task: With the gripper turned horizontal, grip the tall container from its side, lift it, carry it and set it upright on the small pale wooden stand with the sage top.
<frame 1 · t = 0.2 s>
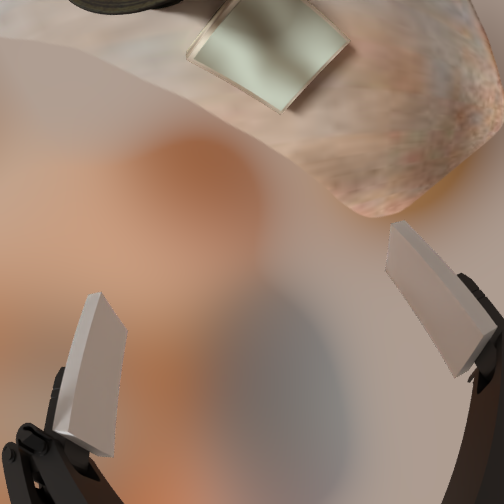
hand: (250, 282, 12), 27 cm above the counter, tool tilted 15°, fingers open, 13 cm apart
stand: (262, 37, 26), on the counter
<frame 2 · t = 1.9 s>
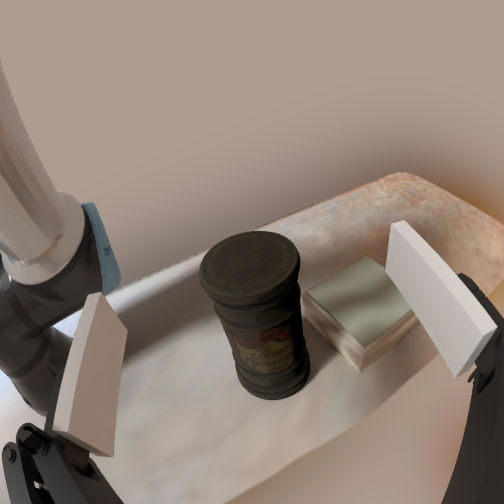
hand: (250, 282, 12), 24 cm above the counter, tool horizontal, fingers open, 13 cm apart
container: (274, 370, 34), on the counter
stand: (363, 319, 38), on the counter
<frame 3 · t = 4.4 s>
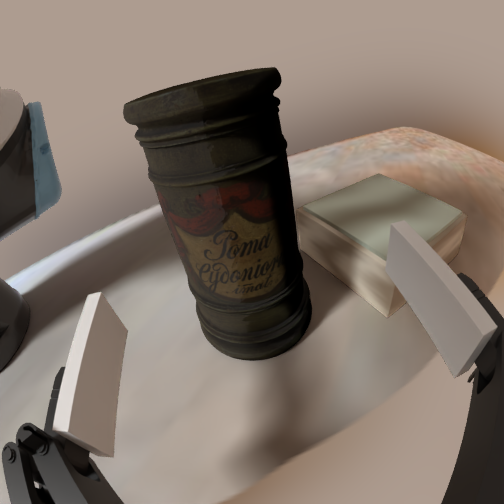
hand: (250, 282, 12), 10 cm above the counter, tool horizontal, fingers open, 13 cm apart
container: (256, 318, 24), on the counter
stand: (382, 251, 27), on the counter
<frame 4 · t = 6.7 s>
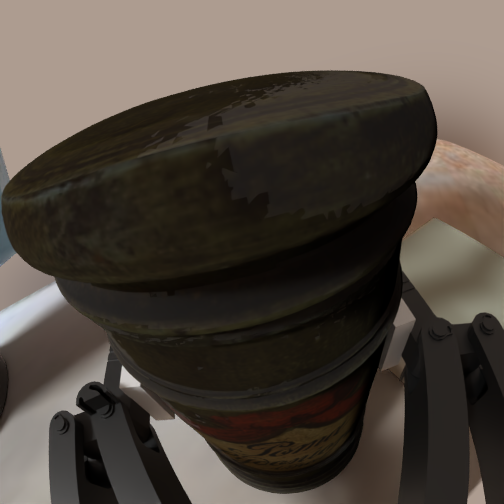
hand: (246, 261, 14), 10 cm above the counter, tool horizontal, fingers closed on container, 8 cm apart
container: (287, 431, 16), on the counter, touching gripper
stand: (440, 325, 19), on the counter
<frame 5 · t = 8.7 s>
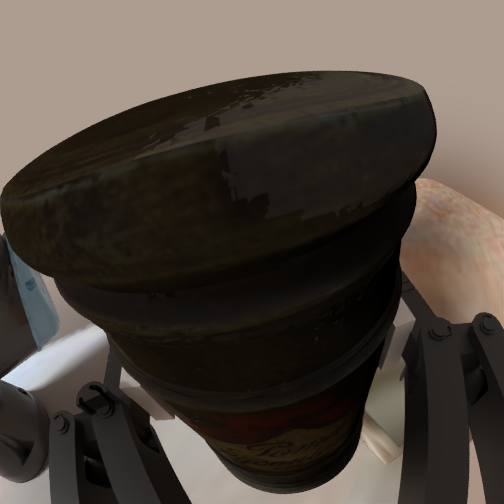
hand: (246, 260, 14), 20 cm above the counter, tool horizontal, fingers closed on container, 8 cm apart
container: (287, 431, 16), point 10 cm above the counter, touching gripper
stand: (392, 389, 25), on the counter
when the fingers open (16 cm above the counter, at t = 10.7 s): container drops 1 cm, resting on stand.
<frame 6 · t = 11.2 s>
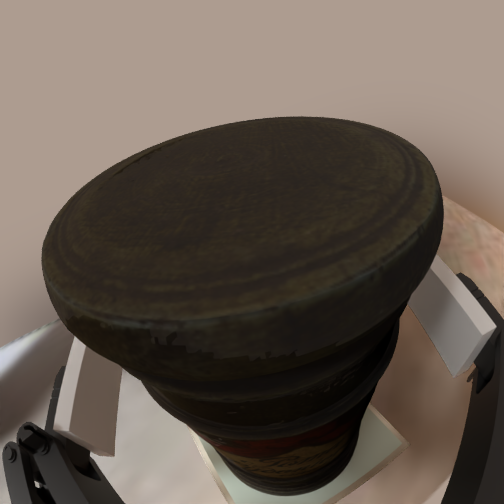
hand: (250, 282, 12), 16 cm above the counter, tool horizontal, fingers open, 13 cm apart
container: (288, 437, 16), point 5 cm above the counter, touching stand
stand: (293, 450, 19), on the counter
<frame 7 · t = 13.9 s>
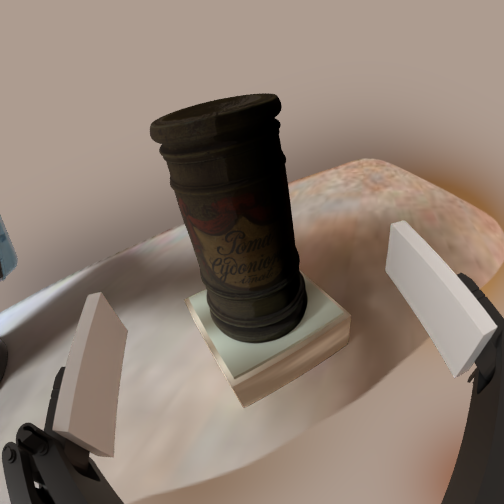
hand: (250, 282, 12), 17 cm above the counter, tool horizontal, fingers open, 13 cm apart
container: (259, 307, 27), point 5 cm above the counter, touching stand
stand: (267, 336, 30), on the counter
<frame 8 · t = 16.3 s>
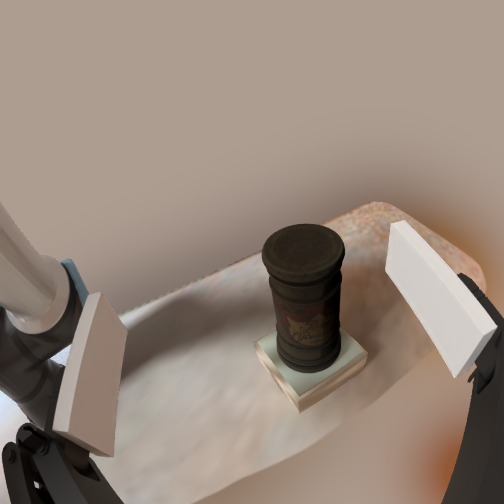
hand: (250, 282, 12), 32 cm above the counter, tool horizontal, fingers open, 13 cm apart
container: (309, 348, 39), point 5 cm above the counter, touching stand
stand: (310, 364, 42), on the counter
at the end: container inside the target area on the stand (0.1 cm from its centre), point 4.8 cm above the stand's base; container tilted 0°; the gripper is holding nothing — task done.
